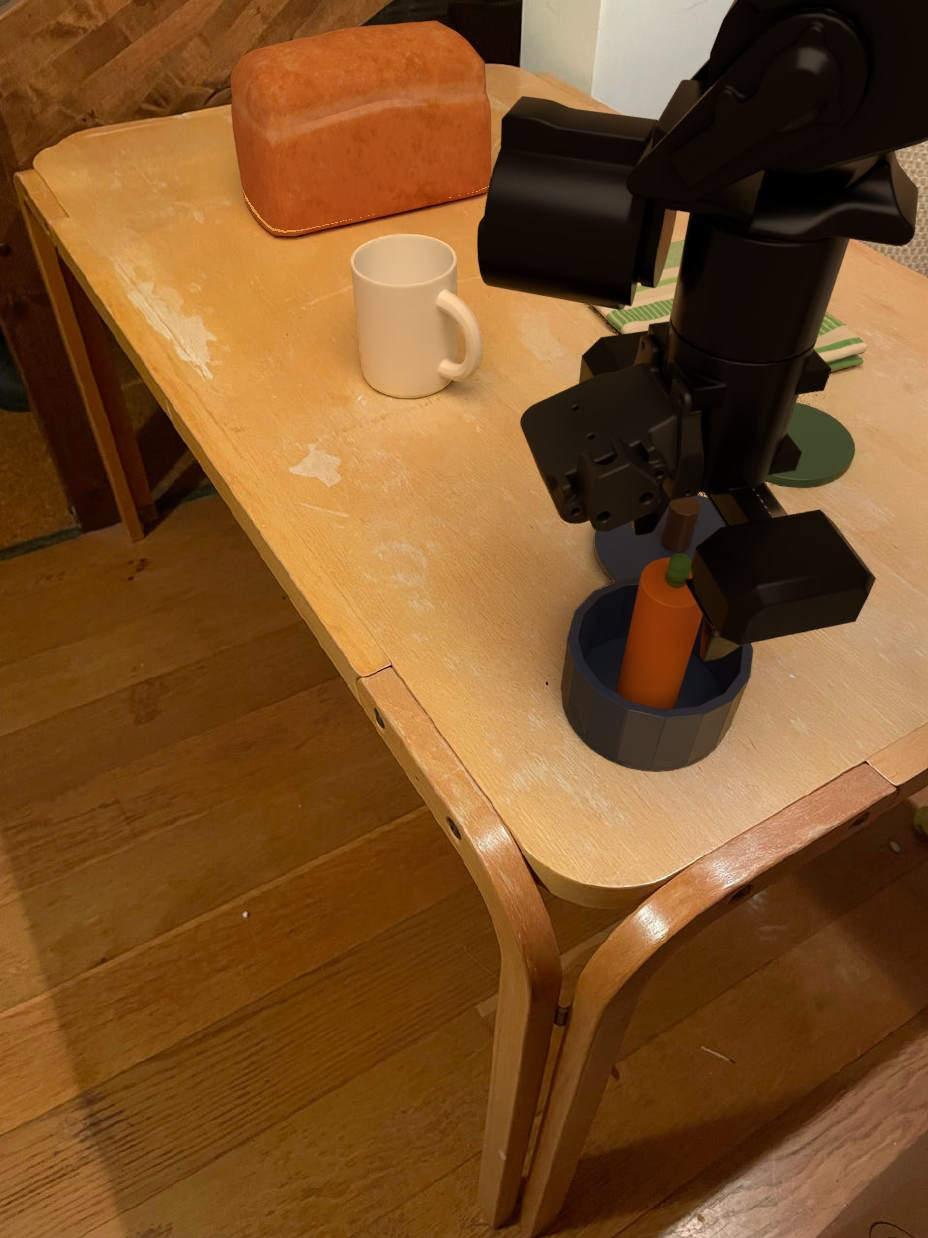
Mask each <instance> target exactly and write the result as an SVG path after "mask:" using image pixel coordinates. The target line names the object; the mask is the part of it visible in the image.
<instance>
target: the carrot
mask: <svg viewBox="0 0 928 1238" xmlns="http://www.w3.org/2000/svg"><path fill="white" fill-rule="evenodd" d="M691 578H692V572H691V560H690V558H689V557H688V556H687V555H685V554H676V555H674V556H672V557H669V558H661V559H657V560H655V561H653V562H651V563H650V564H648V565H647V566H646V567H645V568H644V570H643V572H642V574H641V578H640V583H639V588H638V592H637V597H636V602H635V606H634V611H633V616H632V620H631V625H630V629H629V634H628V639H627V643H626V648H625V653H624V657H623V662H622V667H621V671H620V676H619V681H618V685H617V694H619V695H620V696H622V697H624V698H625V699H627V700H629V701H630V702H634V703H638V704H642V705H647V706H651V707H656V708H660V709H664V710H666V709H673V708H674V706H675V704H676V701H677V698H678V694H679V691H680V688H681V685H682V681H683V678H684V675H685V671H686V668H687V665H688V662H689V658H690V655H691V652H692V649H693V645H694V642H695V639H696V635H697V632H698V629H699V626H700V622H701V619H702V616H703V614H702V612H701V610H700V608H699V606H698V605H697V603H696V601H695V599H694V597H693V596H692V594H691V592H690V590H689V589H688V587H687V585H686V583H685V580H686V579H691Z"/></svg>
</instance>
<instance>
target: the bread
mask: <svg viewBox="0 0 928 1238" xmlns="http://www.w3.org/2000/svg"><path fill="white" fill-rule="evenodd" d="M486 75H487V74H486V62H485V60H484V59H483V58H482V57H481V56H480V54H479V53H478V52H477V51H476V49H475V48H474V47H473V46H472V45H471V43H470V42H469V41H468V40H467V39H466V38H465V37H464V36H463V35H461V34H460V33H459V32H457V31H456V30H454V29H452V28H450V27H448V26H447V25H445V24H443V23H441V22H439V21H438V20H428V21H413V22H412V21H411V22H401V23H391V24H374V25H364V26H355V27H343V28H339V29H335V30H331V31H327V32H324V33H320V34H319V33H318V34H316V35H312V36H306V37H301V38H295V39H292V40H287V41H283V42H279V43H275V44H272V45H267V46H264V47H260V48H256V49H253V50H251V51H249V52H247V53H245V54H244V55H242V56H241V57H240V59H238V61H237V63H236V65H235V66H234V68H233V69H232V72H231V75H230V80H229V81H230V90H231V98H232V99H231V106H230V109H231V110H230V111H231V125H232V134H233V139H234V147H235V153H236V160H237V165H238V171H239V177H240V183H241V188H242V187H243V189H242V191H243V190H244V193H245V195H246V197H247V198H248V200H249V202H250V203H251V205H252V206H253V207H254V209H255V210H256V211H257V213H258V214H259V215H260V217H261V218H262V219H263V220H264V221H265V222H266V223H267V224H268V225H270V226H271V227H272V228H274V229H275V228H276V229H280V230H284V231H287V230H301V229H307V228H312V227H316V226H321V227H316V228H312V229H308V230H303V231H296V232H287V233H283V232H278V231H272V230H271V229H270V228H268V227H267V226H266V225H265V224H264V223H263V222H262V221H261V220H260V219H259V218H258V217H257V215H256V214H255V213H254V212H253V211H252V209H251V207H250V205H249V204H248V202H247V201H246V199H245V196H244V193H243V192H242V194H243V198H244V201H245V205H246V206H247V208H248V210H249V211H250V214H251V216H252V217H254V219H255V220H256V221H257V222H258V223H259V225H260V226H261V227H262V228H264V229H265V230H266V231H268V232H269V233H270V234H272V235H273V236H276V237H278V236H280V237H297V236H301V235H305V234H309V233H313V232H318V231H323V230H326V229H331V228H335V227H340V226H345V225H350V224H353V223H358V222H363V221H364V222H365V221H368V220H372V219H377V218H381V217H385V216H389V215H394V214H398V213H403V212H407V211H411V210H416V209H421V208H424V207H429V206H434V205H439V204H443V203H447V202H452V201H456V200H461V199H462V200H463V199H465V198H470V197H473V196H478V195H481V194H485V193H486V192H488V188H489V187H488V186H489V184H490V180H491V176H492V109H491V103H490V102H491V101H490V99H489V96H488V93H487V77H486ZM485 187H487V188H485ZM482 188H485V189H482ZM481 189H482V190H481ZM479 190H480V191H479ZM476 191H478V192H476ZM472 192H473V193H472ZM468 193H469V194H468ZM459 195H460V196H459ZM449 197H451V198H449ZM373 214H374V215H373ZM368 215H369V216H368ZM360 217H361V218H360ZM349 219H350V220H349ZM351 219H352V220H351ZM343 220H344V221H343ZM345 220H347V221H345ZM340 221H342V222H340ZM335 222H338V223H335ZM331 223H334V224H331ZM325 224H329V225H325ZM322 225H325V226H322Z"/></svg>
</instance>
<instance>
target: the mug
mask: <svg viewBox="0 0 928 1238" xmlns="http://www.w3.org/2000/svg"><path fill="white" fill-rule="evenodd" d="M349 263H350V273H351V284H352V293H353V302H354V311H355V320H356V321H355V323H356V331H357V342H358V351H359V360H360V367H361V372H362V375H363V377H364V379H365V381H366V382H367V383H368V385H369V386H370V387H372V388H373V389H374V390H376V391H377V392H379V393H381V394H382V395H385V396H388V397H393V398H397V399H398V398H399V399H419V398H423V397H428V396H431V395H434V394H436V393H438V392H440V391H442V390H444V388H446V387H447V386H448V385H449V384H450V383H451V382H452V381H456V382H461V381H463V382H464V381H465V380H468V379H471V378H472V377H473V376H475V374H476V373H477V372H478V370H479V369H480V366H481V364H482V360H483V355H484V353H483V352H484V341H483V336H482V332H481V328H480V325H479V322H478V320H477V318H476V316H475V315H474V313H473V311H472V310H471V309H470V307H469V306H468V305H467V303H465V302H464V301H463V300H462V299H461V298H460V297H458V257H457V253H456V252H455V250H454V249H453V248H452V247H451V245H449V244H448V243H446V242H445V241H443V240H441V239H438V238H436V237H433V236H428V235H424V234H419V233H418V234H417V233H393V234H388V235H382V236H379V237H375V238H373V239H370V240H368V241H366V242H364V243H363V244H361V245H360V246H358V247H357V248H356V249H355V250H354V251H353V253H352V254H351V257H350V261H349ZM458 327H459V328H460V330H461V333H462V335H463V339H464V342H465V357H464V359H463V362H461V363H458V360H459V358H458V355H459V354H458V353H459V352H458V351H459V350H458V349H459V348H458V347H459V346H458V345H459V343H458Z"/></svg>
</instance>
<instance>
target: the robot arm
mask: <svg viewBox="0 0 928 1238" xmlns="http://www.w3.org/2000/svg"><path fill="white" fill-rule="evenodd" d="M663 109H664V110H663V111H662V112H661V115H660V116H659V118H658V119H657V118H656V119H655V118H648V117H641V116H640V117H639V116H633V115H625V114H616V113H610V112H601V111H594V110H586V109H579V108H574V107H569V106H568V105H565V104H562V103H560V102H558V101H556V100H552V99H547V98H541V97H534V96H526V95H521V97H520V98H519V99H517V101H516V102H515V103H514V104H513V105H512V106H511V107H510V109H509V110H507V112H506V113H505V114H504V115H503V116H502V118H501V120H500V121H501V122H500V148H499V151H498V153H497V156H496V159H495V161H494V164H493V168H492V171H491V180H490V184H489V188H488V190H487V195H486V199H485V206H484V214H483V216H482V218H481V219H480V220H479V222H478V225H477V230H476V231H477V234H476V236H477V237H476V247H477V248H476V249H477V251H476V253H477V264H478V269H479V275H480V277H481V279H482V282H483V283H484V284H485V285H486V286H487V287H493V288H498V289H503V290H509V291H514V292H520V293H523V294H524V293H525V294H530V295H536V296H541V297H547V298H551V299H557V300H563V301H567V302H573V303H574V302H575V303H580V304H584V305H585V304H586V305H591V306H593V305H595V306H601V307H606V308H612V309H617V310H622V309H623V308H624V307H625V306H632V304H633V301H634V297H635V293H636V289H637V283H641V286H644V287H649V288H656V287H657V285H658V283H659V281H660V278H661V275H662V272H663V269H664V266H665V263H666V259H667V256H668V252H669V248H670V244H671V242H672V239H673V234H674V229H675V225H676V219H677V213H678V212H683V213H689V215H688V219H687V224H686V225H687V226H686V231H685V236H684V239H683V240H684V246H683V251H682V257H681V262H680V267H679V273H678V278H677V283H676V289H675V294H674V300H673V305H672V310H671V315H670V320H669V321H667V322H660V323H653V324H649V327H648V331H641V332H634V333H627V334H622V333H620V334H614V335H613V334H612V335H605V336H601V337H599V339H597V340H596V341H595V342H594V343H593V344H592V345H591V346H590V347H589V348H588V349H587V350H586V351H585V352H584V353H583V354H582V355H581V359H580V369H579V377H578V383H577V384H575V385H572V386H570V387H568V388H566V389H564V390H562V391H560V392H557V393H555V394H553V395H550V396H548V397H547V398H544V399H542V400H540V401H538V402H536V403H534V404H532V405H530V406H529V407H527V409H525V411H524V412H523V413H522V415H521V417H520V421H519V424H520V428H521V431H522V433H523V436H524V439H525V441H526V443H527V445H528V448H529V450H530V453H531V456H532V458H533V461H534V463H535V466H536V467H537V470H538V473H539V476H540V477H541V480H542V482H543V484H544V486H545V488H546V490H547V493H548V494H549V496H550V499H551V501H552V503H553V505H554V508H555V510H556V512H557V514H558V516H559V518H560V519H561V520H563V522H564V523H565V522H566V523H567V524H571V525H581V524H584V523H587V522H589V523H590V525H591V527H592V529H593V530H594V531H595V530H596V531H602V532H608V531H611V530H613V529H615V528H618V527H620V526H622V525H624V524H627V523H629V522H632V529H633V531H634V533H635V535H644V534H649V533H652V532H653V531H654V530H655V528H656V527H657V525H658V523H659V522H660V520H661V519H662V517H663V515H664V514H665V512H666V510H667V508H668V506H669V504H670V502H671V500H675V499H681V498H687V497H692V496H696V495H700V493H702V494H704V495H705V497H707V498H708V499H709V501H710V502H711V504H712V505H713V507H714V509H715V510H716V512H717V513H718V515H719V516H720V518H721V520H722V521H723V523H724V524H725V527H721V528H719V529H718V530H717V531H716V532H714V533H713V534H712V535H711V536H709V537H708V538H707V539H705V540H704V541H703V542H702V543H700V544H699V545H698V546H697V547H695V551H694V555H693V558H692V562H691V572H692V578H691V579H686V580H685V583H686V585H687V587H688V589H689V590H690V592H691V594H692V596H693V597H694V599H695V601H696V603H697V605H698V606H699V608H700V610H701V612H702V614H703V615H704V622H703V628H702V634H701V645H700V656H701V658H702V660H703V661H705V662H706V661H712V660H716V659H721V658H723V657H725V656H726V655H728V654H729V653H730V652H732V651H733V650H735V649H736V648H738V647H739V646H741V645H744V644H749V643H751V644H754V643H758V642H764V641H768V640H772V639H773V640H774V639H778V638H783V637H789V636H793V635H797V634H798V635H799V634H803V633H807V632H813V631H817V630H822V629H826V628H831V627H837V626H842V625H846V624H851V623H856V622H857V620H858V618H859V616H860V614H861V611H862V609H863V608H864V606H865V604H866V601H867V600H868V598H869V596H870V593H871V591H872V589H873V586H874V585H875V583H876V580H877V577H876V576H875V575H874V573H873V572H872V570H870V568H869V567H868V565H867V564H866V562H865V561H864V560H863V559H862V558H861V556H860V555H859V553H858V552H857V551H856V549H855V548H854V546H853V545H852V544H851V543H850V542H849V540H848V539H847V537H845V535H844V534H843V532H842V531H841V530H840V528H839V527H838V526H837V524H836V523H835V522H834V521H833V520H832V519H831V518H830V517H829V515H828V514H826V513H825V512H824V511H823V510H822V509H821V508H819V509H815V510H808V511H802V512H797V513H792V514H788V512H787V511H786V510H785V508H784V507H783V505H782V503H780V501H779V500H778V498H777V497H776V496H775V494H774V492H773V491H772V490H771V489H770V487H769V486H768V484H767V482H766V478H767V476H768V475H773V474H779V473H785V472H790V471H796V468H797V465H798V463H799V460H800V457H801V454H802V451H801V450H800V449H799V448H798V446H797V445H796V444H795V442H794V441H793V440H792V439H791V437H790V436H789V435H788V433H787V429H788V426H789V423H790V420H791V417H792V414H793V411H794V407H795V404H796V402H797V401H798V397H799V396H800V395H806V394H810V393H817V392H823V391H825V389H826V386H827V383H828V381H829V377H830V375H831V368H830V366H829V365H828V364H827V363H826V362H825V361H824V360H823V359H822V358H821V356H820V355H819V354H818V353H817V352H816V351H815V350H814V347H815V344H816V341H817V337H818V334H819V331H820V328H821V325H822V322H823V319H824V316H825V313H826V312H827V310H828V308H829V307H828V306H829V305H830V301H831V298H832V295H833V292H834V288H835V285H836V282H837V280H838V277H839V274H840V271H841V268H842V264H843V262H844V258H845V256H846V252H847V249H848V246H849V242H850V240H855V241H860V242H861V241H862V242H867V243H868V242H869V243H874V244H881V245H886V246H887V245H888V246H894V247H903V246H905V245H907V244H909V243H911V242H912V240H913V239H914V238H915V235H916V226H917V225H916V224H917V213H918V202H919V188H918V187H917V184H915V182H913V180H911V178H910V177H909V176H908V174H907V173H906V171H905V170H904V169H903V168H902V166H901V165H900V163H899V160H898V158H897V155H896V151H899V150H903V149H907V148H911V147H914V146H918V145H920V144H923V143H925V142H928V0H733V1H732V3H731V5H730V6H729V8H728V10H727V12H726V14H725V16H724V17H723V18H722V22H721V24H720V26H719V29H718V31H717V34H716V37H715V39H714V42H713V44H712V47H711V49H710V52H709V58H708V59H707V60H706V61H705V62H704V63H703V64H702V65H701V67H699V69H698V70H697V71H696V72H695V73H694V74H693V75H692V76H691V78H690V79H681V80H680V82H679V84H678V85H677V87H676V89H675V90H674V92H673V93H672V96H671V98H670V99H669V101H668V102H667V104H666V106H665V108H663Z"/></svg>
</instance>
